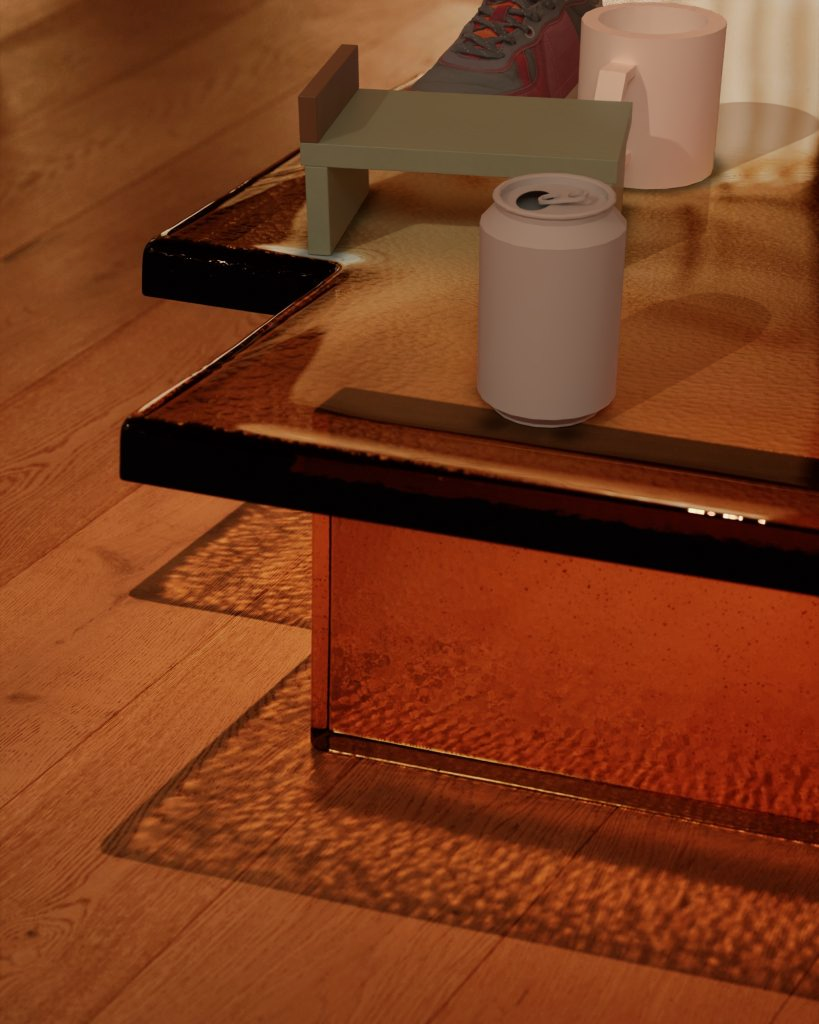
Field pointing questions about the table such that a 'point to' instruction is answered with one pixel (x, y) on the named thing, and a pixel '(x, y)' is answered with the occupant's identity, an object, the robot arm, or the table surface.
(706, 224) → the table surface
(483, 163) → the shelf
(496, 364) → the can
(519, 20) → the sneaker
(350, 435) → the table surface
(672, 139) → the mug
